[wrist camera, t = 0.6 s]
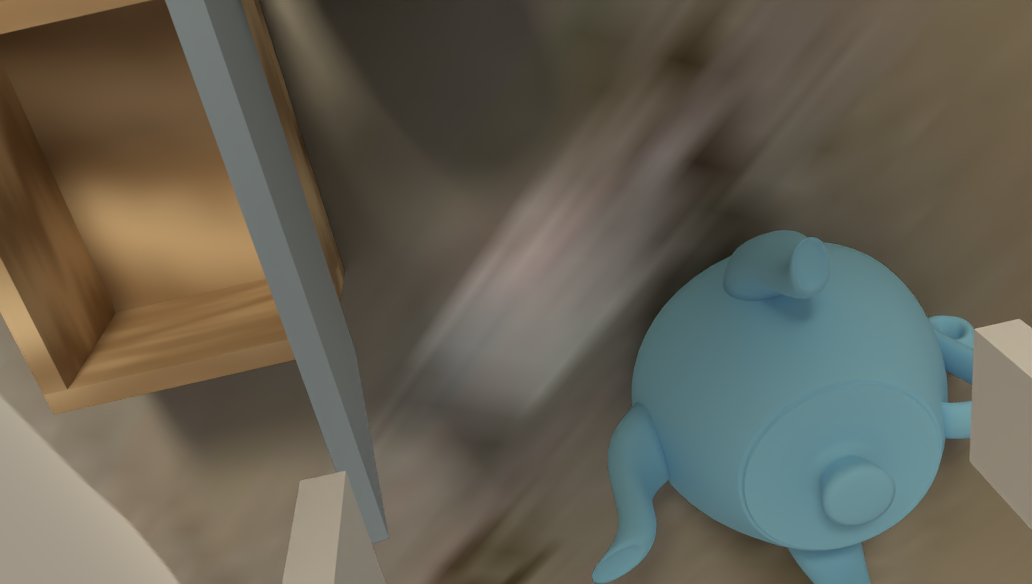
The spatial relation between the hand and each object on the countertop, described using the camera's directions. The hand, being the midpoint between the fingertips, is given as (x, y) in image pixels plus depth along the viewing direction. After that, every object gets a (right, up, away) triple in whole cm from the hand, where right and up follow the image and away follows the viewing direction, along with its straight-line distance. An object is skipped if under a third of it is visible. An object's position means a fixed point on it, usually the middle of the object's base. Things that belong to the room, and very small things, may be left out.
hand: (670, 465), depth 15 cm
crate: (-19, +10, +27) cm, 34 cm away
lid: (-10, +5, +14) cm, 18 cm away
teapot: (+10, -1, +35) cm, 37 cm away
